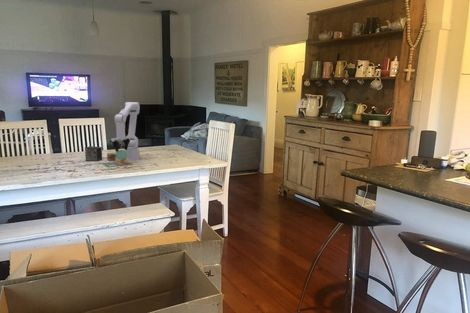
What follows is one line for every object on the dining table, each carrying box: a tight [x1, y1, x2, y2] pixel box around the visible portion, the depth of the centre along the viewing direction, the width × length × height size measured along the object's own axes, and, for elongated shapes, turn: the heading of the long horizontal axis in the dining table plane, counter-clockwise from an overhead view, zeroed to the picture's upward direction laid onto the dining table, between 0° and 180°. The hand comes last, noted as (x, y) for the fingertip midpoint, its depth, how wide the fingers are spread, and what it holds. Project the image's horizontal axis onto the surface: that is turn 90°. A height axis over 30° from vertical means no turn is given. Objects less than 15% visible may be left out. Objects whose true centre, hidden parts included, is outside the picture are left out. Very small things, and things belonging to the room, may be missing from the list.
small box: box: [84, 145, 103, 162], centre depth 265 cm, size 11×6×10 cm, turn 74°
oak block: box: [114, 158, 130, 166], centre depth 254 cm, size 7×7×4 cm
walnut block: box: [106, 152, 116, 162], centre depth 265 cm, size 6×6×6 cm
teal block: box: [115, 149, 127, 159], centre depth 253 cm, size 6×6×6 cm
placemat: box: [102, 161, 134, 168], centre depth 253 cm, size 18×14×1 cm
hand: (121, 150), depth 252 cm, fingers open, 7 cm apart
